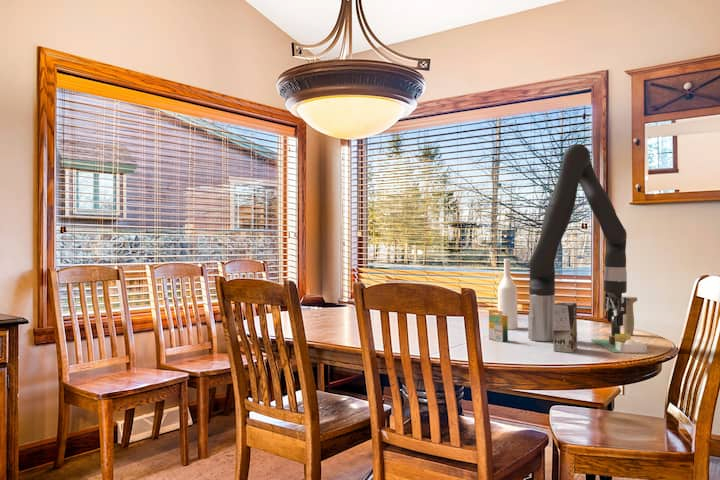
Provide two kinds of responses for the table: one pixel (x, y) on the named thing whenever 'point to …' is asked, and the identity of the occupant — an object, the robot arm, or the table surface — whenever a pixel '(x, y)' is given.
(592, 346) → the table surface
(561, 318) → the coffee box
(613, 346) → the pitch
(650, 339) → the table surface
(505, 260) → the bottle
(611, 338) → the brown cardboard carton
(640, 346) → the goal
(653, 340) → the table surface
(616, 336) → the long multicoloured device
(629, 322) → the handle
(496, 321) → the crayon box
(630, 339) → the ball
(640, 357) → the table surface
